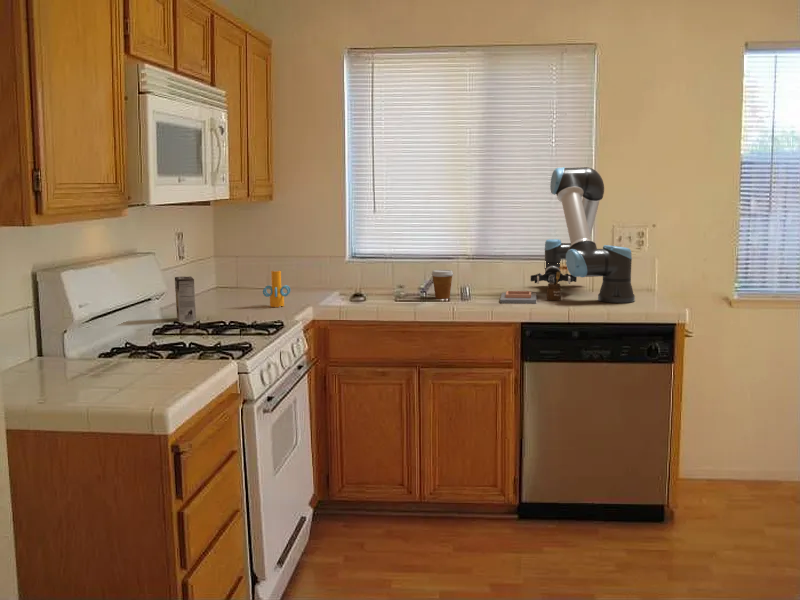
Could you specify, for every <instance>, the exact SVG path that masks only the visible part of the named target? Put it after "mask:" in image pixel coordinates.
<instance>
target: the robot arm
mask: <svg viewBox="0 0 800 600" xmlns="http://www.w3.org/2000/svg"><path fill="white" fill-rule="evenodd" d="M549 185H550V193H551V195H556V198H557V200H558V202H561V204H562V209H563V213H564V217H565V218H564V219H565V222H566V227H567V232H568V237H569V241H570V242H569V243H568V242H567V243H566V242H562V241H561V239H556V238H555V239H554V238H549V239H546V240H545V242H544V262H545V261H546V268H545V267H544V269H545V274H544V273H543V274H542V273H540V272H539V273H537V274H532V275H530V282H534V284H537V285H539V284H540V282H543V281H544V282H547V283H548V284H549V283H551V282H552V283H556V282H557V279H556V275H557V276H558V277H559V275H558V274H557V272H560V277H559V279H558V282H557V283H558V284H559V282H562V281H563V282H567V284H568V285H571V283H572V282H574V283H576V282H577V278H592V277H595V278H596V277H602V283H601V287H600V290H599V293H598V294H597V301H599V302H602V303H612V304H613V303H614V304H623V303H624V304H627V303H633V302H635V300H636V298H635V297H636V296H635V293H634V289H633V286H632V263H633V262H632V261H633V258H632V250H631V249H630V248H629V247H625V246H616V245H609V244H604V245H603V247H602V248H598V247H597V243H596V242H595V241H593V240H592V238H591V236H592V231H593V229H594V226H595V225H594V224H595V221H596V215H597V212H598V209H599V205H600V201H602V199H603V197H604V194H605V184H604V180H603V178H602V176H601V175H600V173H599V172H598V171H597V170H596V169H594V168H592V167H590V166H589V167H588V166H587V167H585V166H584V167H581V166H580V167H564V166H563V167H557V168H555V169H554V170H553V171H552V174H551V177H550V184H549ZM562 260H566V261H565V265H566V268H567V271H568V273H565V274H564V273H562V272H561V271H560V268H559V267H560V264H559V263H560V261H561V262H562ZM548 263H549V264H548ZM557 263H558V264H557ZM550 275H551V276H550ZM553 278H554V279H553Z"/></svg>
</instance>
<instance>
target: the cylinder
mask: <svg viewBox="0 0 800 600" xmlns="http://www.w3.org/2000/svg"><path fill="white" fill-rule="evenodd" d="M270 275H271V276H270V277H271V280H270V281H271V285H269V284H268V285H266V286H265V287H264V288H263V290H262V294H263V296H264V297H268V298H269V306H271V308H280V307H279V306H283V307H285V297H288V295H290V293H291V287H290V286H289V285H287V284H285V285H283V286H282V270H277V269H276V270H275V269H274V270H271V274H270ZM267 289H269V290H270V293H268V291H267ZM284 289H285V290H286V293H285V292H284Z"/></svg>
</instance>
